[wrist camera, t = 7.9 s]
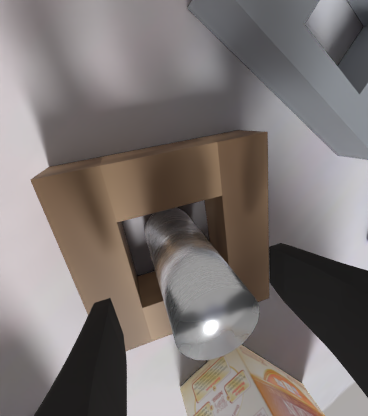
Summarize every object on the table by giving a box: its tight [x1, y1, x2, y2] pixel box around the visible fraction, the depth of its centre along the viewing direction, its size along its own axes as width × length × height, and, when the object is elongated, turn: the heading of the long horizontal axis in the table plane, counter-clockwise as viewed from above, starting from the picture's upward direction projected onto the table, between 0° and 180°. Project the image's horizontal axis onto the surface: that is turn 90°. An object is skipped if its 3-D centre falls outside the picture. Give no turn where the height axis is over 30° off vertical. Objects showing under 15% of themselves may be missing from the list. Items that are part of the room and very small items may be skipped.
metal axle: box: [145, 208, 259, 360], centre depth 12 cm, size 3×3×8 cm
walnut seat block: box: [31, 130, 269, 351], centre depth 14 cm, size 11×11×3 cm
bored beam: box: [188, 0, 368, 160], centre depth 12 cm, size 14×8×3 cm, turn 57°
